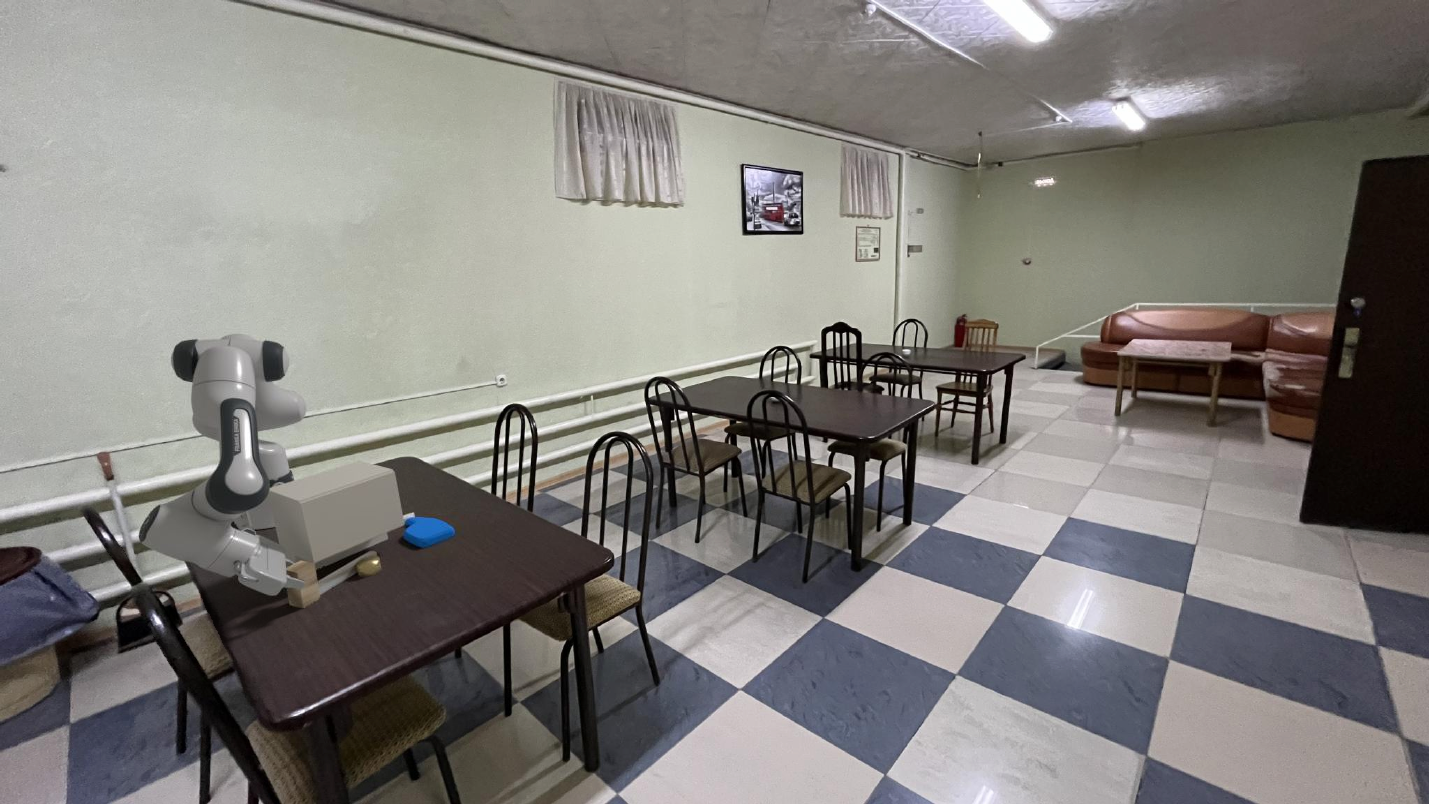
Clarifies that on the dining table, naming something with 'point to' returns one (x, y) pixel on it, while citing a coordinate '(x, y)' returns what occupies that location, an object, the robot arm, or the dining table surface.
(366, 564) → the brass puck
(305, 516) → the cabinet
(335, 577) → the wooden handled saw
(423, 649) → the dining table surface
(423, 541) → the spray bottle
